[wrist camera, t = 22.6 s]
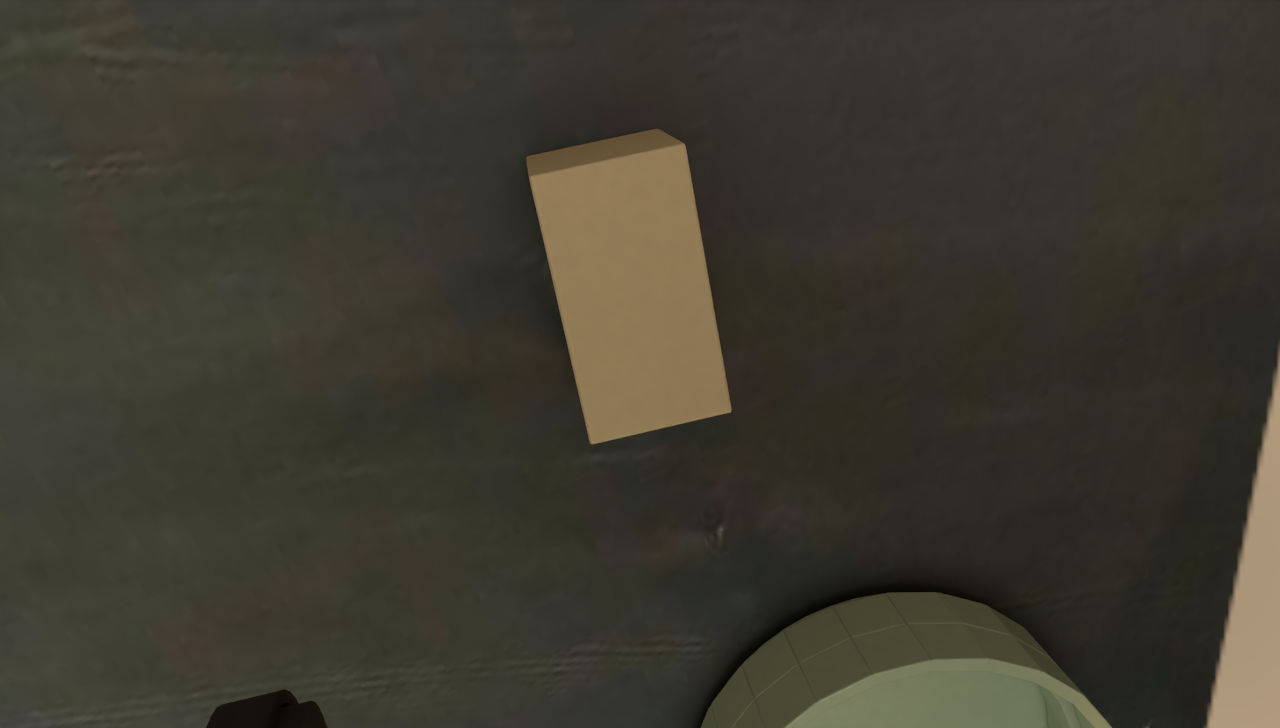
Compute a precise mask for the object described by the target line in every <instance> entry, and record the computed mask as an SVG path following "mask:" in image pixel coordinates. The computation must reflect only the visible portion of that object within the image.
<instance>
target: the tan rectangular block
mask: <svg viewBox="0 0 1280 728" xmlns="http://www.w3.org/2000/svg"><path fill="white" fill-rule="evenodd" d="M526 163H527V169H528V175H529V181H530V185H531V189H532V194H533V198H534V202H535V207H536V211H537V215H538V220H539V224H540V228H541V233H542V237H543V241H544V246H545V250H546V254H547V259H548V263H549V267H550V272H551V276H552V280H553V285H554V289H555V294H556V298H557V302H558V307H559V311H560V315H561V320H562V324H563V328H564V333H565V337H566V341H567V346H568V350H569V354H570V359H571V363H572V367H573V372H574V376H575V380H576V385H577V389H578V393H579V398H580V402H581V406H582V411H583V415H584V420H585V424H586V428H587V433H588V437H589V441H590V443H591V444H596V443H600V442H605V441H609V440H613V439H618V438H622V437H626V436H631V435H635V434H639V433H644V432H648V431H652V430H657V429H661V428H665V427H669V426H674V425H678V424H682V423H687V422H691V421H695V420H700V419H704V418H708V417H713V416H717V415H721V414H726V413H730V412H731V410H732V409H731V403H730V398H729V392H728V386H727V380H726V375H725V369H724V363H723V357H722V352H721V346H720V340H719V335H718V329H717V323H716V317H715V312H714V306H713V300H712V294H711V289H710V283H709V277H708V272H707V266H706V260H705V254H704V249H703V243H702V237H701V231H700V226H699V220H698V214H697V209H696V203H695V197H694V191H693V186H692V180H691V174H690V168H689V163H688V157H687V151H686V146H685V144H684V143H682V142H680V141H679V140H677V139H675V138H673V137H672V136H670V135H668V134H666V133H665V132H663V131H661V130H659V129H653V130H648V131H643V132H639V133H634V134H629V135H624V136H620V137H615V138H610V139H606V140H601V141H596V142H592V143H587V144H582V145H577V146H573V147H568V148H563V149H559V150H554V151H549V152H544V153H540V154H535V155H530V156H527V157H526Z"/></svg>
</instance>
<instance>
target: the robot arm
mask: <svg viewBox="0 0 1280 728" xmlns="http://www.w3.org/2000/svg"><path fill="white" fill-rule="evenodd" d="M206 728H327V726H326V723H325V720H324V717H323V715H322V713H321V710H320V708H319V707H318V705H317V704H316V703H315V702H313V701H308V702H304V703H300V704H298V702H297V700H296V698H295V697H294V696H293V694H292V693H291V692H290V691H287V690H281V691H277V692H272V693H268V694H264V695H260V696H256V697H252V698H248V699H243V700H239V701H235V702H231V703H227V704H223V705H221V706H219V707H217V708H216V710H215V711H214V713H213V714H212V716H211V718H210V720H209V723H208V725H207V727H206Z"/></svg>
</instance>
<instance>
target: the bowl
mask: <svg viewBox="0 0 1280 728" xmlns="http://www.w3.org/2000/svg"><path fill="white" fill-rule="evenodd" d="M701 728H1112V727H1111V726H1110V724H1109V723H1108V722H1107V721H1106V720H1105V719H1104V717H1103V716H1102V715H1101V714H1100V713H1099V712H1098V711H1097V709H1096V708H1095V707H1094V706H1093V705H1092V704H1091V702H1090V701H1089V700H1088V699H1087V698H1086V697H1085V696H1084V694H1083V693H1082V692H1081V691H1080V690H1079V689H1078V688H1077V686H1076V685H1075V684H1074V683H1073V682H1072V681H1071V680H1070V679H1069V677H1068V676H1067V675H1066V674H1065V673H1064V672H1063V671H1062V670H1061V668H1060V667H1059V666H1058V665H1057V664H1056V663H1055V662H1054V661H1053V659H1052V658H1051V657H1050V656H1049V655H1048V654H1047V653H1046V652H1045V650H1044V649H1043V648H1042V647H1041V646H1040V645H1039V644H1038V643H1037V641H1036V640H1035V639H1034V638H1033V637H1032V636H1031V635H1030V634H1029V632H1028V631H1027V630H1026V629H1024V628H1023V627H1022V626H1021V625H1019V624H1017V623H1016V622H1014V621H1012V620H1011V619H1009V618H1007V617H1006V616H1004V615H1002V614H1001V613H999V612H997V611H996V610H994V609H992V608H991V607H989V606H987V605H984V604H982V603H978V602H974V601H970V600H966V599H962V598H958V597H954V596H950V595H947V594H943V593H937V592H887V593H885V594H884V593H882V594H876V595H871V596H865V597H860V598H854V599H851V600H848V601H845V602H841V603H838V604H835V605H831V606H829V607H826V608H824V609H822V610H819V611H817V612H815V613H812V614H810V615H808V616H806V617H804V618H802V619H800V620H799V621H797V622H795V623H793V624H792V625H790V626H788V627H786V628H785V629H783V630H782V631H780V632H779V633H778V634H776V635H775V636H773V637H772V638H771V639H769V640H768V641H767V642H765V643H764V644H763V645H762V646H761V647H759V648H758V649H757V650H756V651H755V652H754V653H753V654H752V655H751V656H750V657H748V658H747V659H746V660H745V661H744V662H743V664H742V665H741V666H740V667H739V668H738V669H737V671H736V672H735V673H734V674H733V675H732V676H731V678H730V679H729V680H728V682H727V683H726V685H725V686H724V687H723V689H722V690H721V691H720V693H719V694H718V695H717V697H716V698H715V699H714V701H713V702H712V703H711V706H710V707H709V709H708V711H707V713H706V716H705V718H704V721H703V723H702V725H701Z"/></svg>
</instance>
